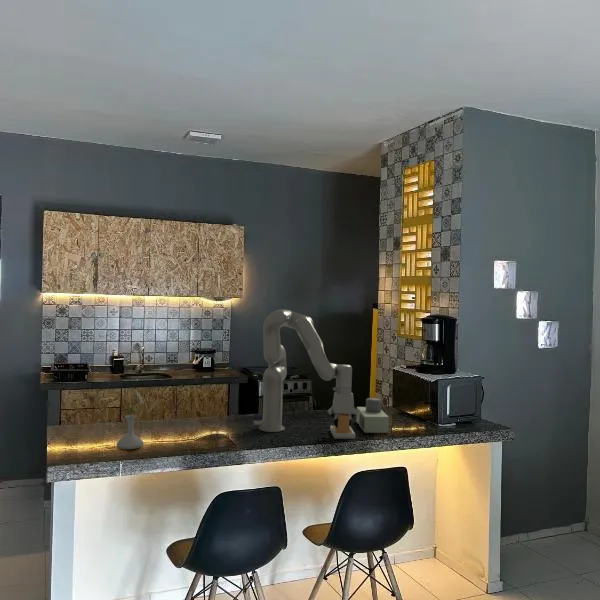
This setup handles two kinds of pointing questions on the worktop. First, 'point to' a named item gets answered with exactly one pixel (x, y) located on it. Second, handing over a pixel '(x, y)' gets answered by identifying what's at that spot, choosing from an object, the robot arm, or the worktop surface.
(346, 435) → the frame
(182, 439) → the worktop surface
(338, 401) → the robot arm
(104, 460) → the worktop surface
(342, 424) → the chute block
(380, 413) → the block with top knob
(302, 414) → the worktop surface
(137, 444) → the flower in vase
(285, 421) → the worktop surface
